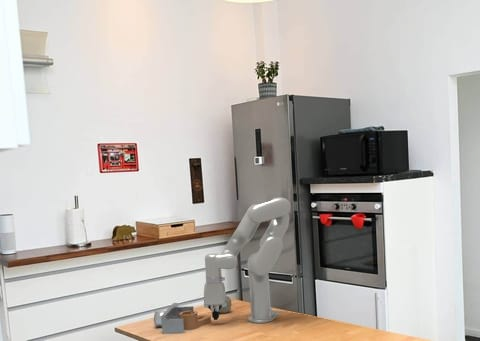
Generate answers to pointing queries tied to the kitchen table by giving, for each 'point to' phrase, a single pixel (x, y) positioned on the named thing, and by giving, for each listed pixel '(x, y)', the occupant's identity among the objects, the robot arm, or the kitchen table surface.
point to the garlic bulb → (228, 306)
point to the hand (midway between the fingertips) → (215, 319)
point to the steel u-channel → (171, 319)
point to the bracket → (194, 319)
